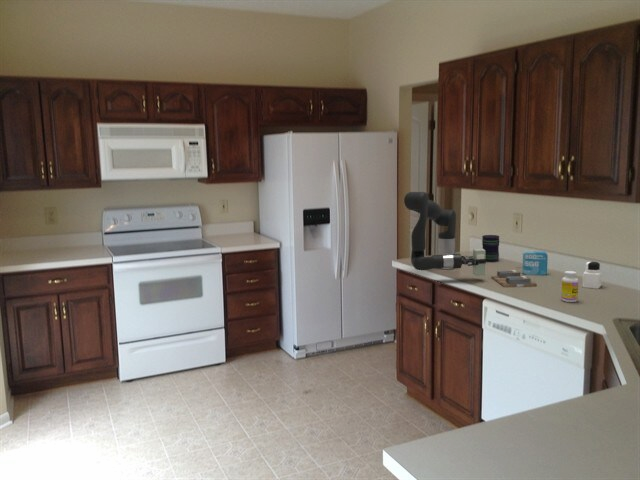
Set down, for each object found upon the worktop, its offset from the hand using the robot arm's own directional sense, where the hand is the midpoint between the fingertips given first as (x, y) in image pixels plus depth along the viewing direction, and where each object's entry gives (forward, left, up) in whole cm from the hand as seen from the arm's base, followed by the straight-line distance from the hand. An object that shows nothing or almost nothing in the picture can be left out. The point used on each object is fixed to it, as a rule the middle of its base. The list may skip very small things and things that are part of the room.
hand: (484, 260), depth 289 cm
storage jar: (-49, +18, -11) cm, 53 cm away
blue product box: (-11, +30, -11) cm, 34 cm away
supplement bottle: (+42, +25, -11) cm, 50 cm away
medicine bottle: (+19, +46, -11) cm, 51 cm away
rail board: (+5, +13, -11) cm, 18 cm away
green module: (0, -3, -8) cm, 8 cm away
